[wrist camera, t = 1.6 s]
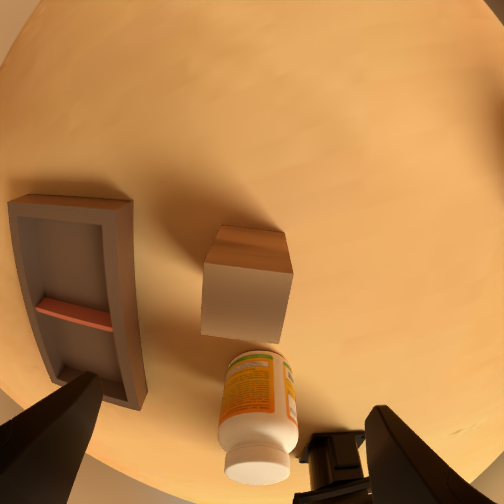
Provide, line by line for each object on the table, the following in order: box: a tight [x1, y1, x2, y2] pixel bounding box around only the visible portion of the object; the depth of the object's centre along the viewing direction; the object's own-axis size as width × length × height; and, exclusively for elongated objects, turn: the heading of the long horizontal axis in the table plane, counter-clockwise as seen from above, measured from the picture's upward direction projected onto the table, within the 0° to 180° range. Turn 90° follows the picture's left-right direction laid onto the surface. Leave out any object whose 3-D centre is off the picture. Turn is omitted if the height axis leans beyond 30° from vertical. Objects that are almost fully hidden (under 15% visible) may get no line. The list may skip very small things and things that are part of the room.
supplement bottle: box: [218, 351, 298, 485], centre depth 19 cm, size 5×5×10 cm
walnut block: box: [201, 225, 293, 344], centre depth 17 cm, size 4×4×6 cm
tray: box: [8, 194, 148, 411], centre depth 20 cm, size 18×10×3 cm, turn 173°
